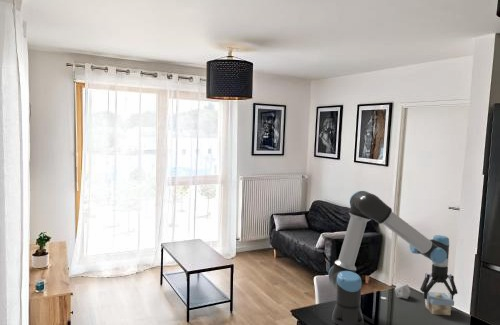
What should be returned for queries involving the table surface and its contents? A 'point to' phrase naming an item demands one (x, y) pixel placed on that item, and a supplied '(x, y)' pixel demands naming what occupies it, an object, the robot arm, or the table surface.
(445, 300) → the lid
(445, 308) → the box
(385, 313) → the table surface
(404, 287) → the grey faceted lump
